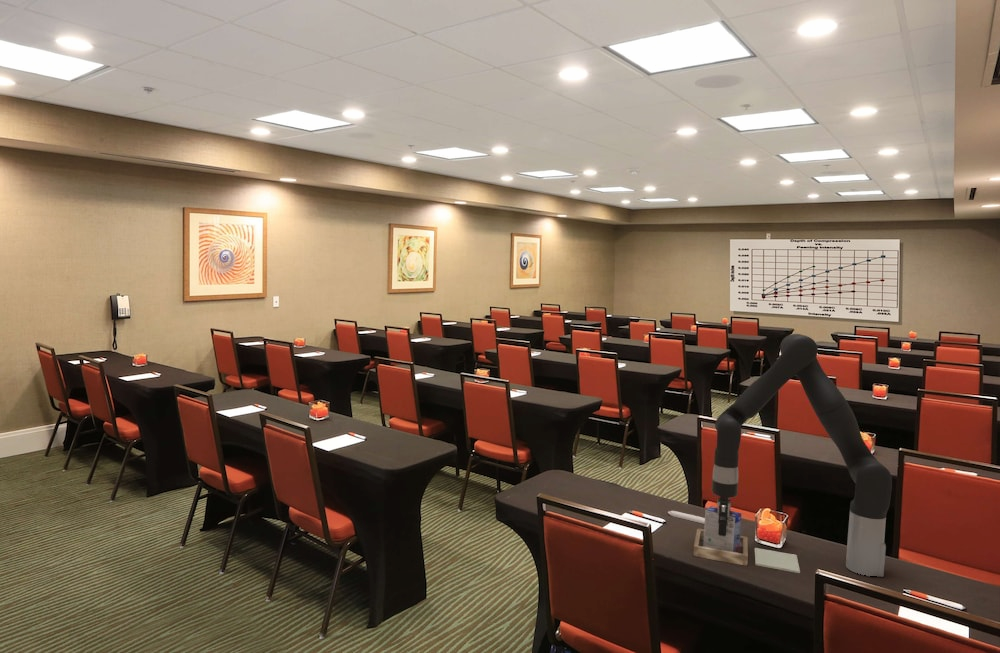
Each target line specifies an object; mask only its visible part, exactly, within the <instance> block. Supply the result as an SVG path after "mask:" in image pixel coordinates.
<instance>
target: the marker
mask: <svg viewBox="0 0 1000 653" xmlns="http://www.w3.org/2000/svg"><path fill="white" fill-rule="evenodd" d="M667 513H668V514H669V515H670V516H671V517H674V518H679V519H682V520H686V521H691V522H694V523H699V524H703V525H704V524H705V517H702V516H698V515H694V514H691V513H690V514H689V513H684V512H681V511H676V510H668V511H667Z"/></svg>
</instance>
